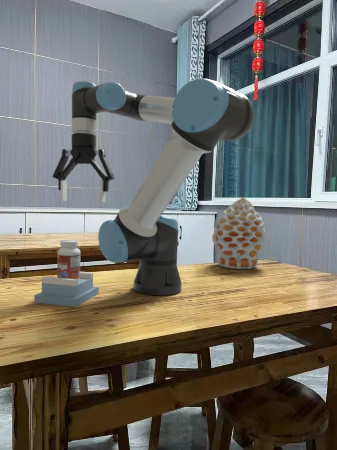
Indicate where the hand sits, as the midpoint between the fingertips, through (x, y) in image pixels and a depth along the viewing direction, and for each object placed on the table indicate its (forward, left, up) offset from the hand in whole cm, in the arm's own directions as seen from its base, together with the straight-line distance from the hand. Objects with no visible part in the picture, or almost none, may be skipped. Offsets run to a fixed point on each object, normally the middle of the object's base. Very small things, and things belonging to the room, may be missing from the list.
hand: (82, 201), depth 117 cm
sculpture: (-47, -51, -27) cm, 74 cm away
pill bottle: (-4, +16, -22) cm, 27 cm away
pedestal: (-4, +16, -27) cm, 31 cm away
